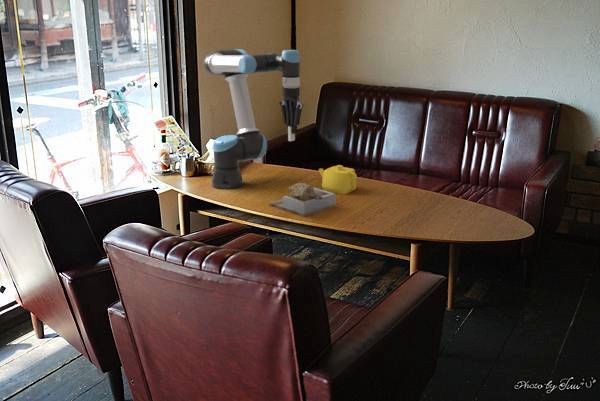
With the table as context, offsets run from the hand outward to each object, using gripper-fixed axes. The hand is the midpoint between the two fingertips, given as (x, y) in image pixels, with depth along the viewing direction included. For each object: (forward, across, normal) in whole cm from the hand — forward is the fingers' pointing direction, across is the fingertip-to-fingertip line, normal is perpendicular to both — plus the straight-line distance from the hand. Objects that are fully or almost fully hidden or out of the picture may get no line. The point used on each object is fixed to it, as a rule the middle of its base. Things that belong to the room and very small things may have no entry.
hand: (291, 140), depth 284 cm
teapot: (+27, +6, +24) cm, 36 cm away
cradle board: (+26, +12, -6) cm, 30 cm away
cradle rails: (+25, +17, -5) cm, 31 cm away
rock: (+25, +14, -6) cm, 30 cm away
